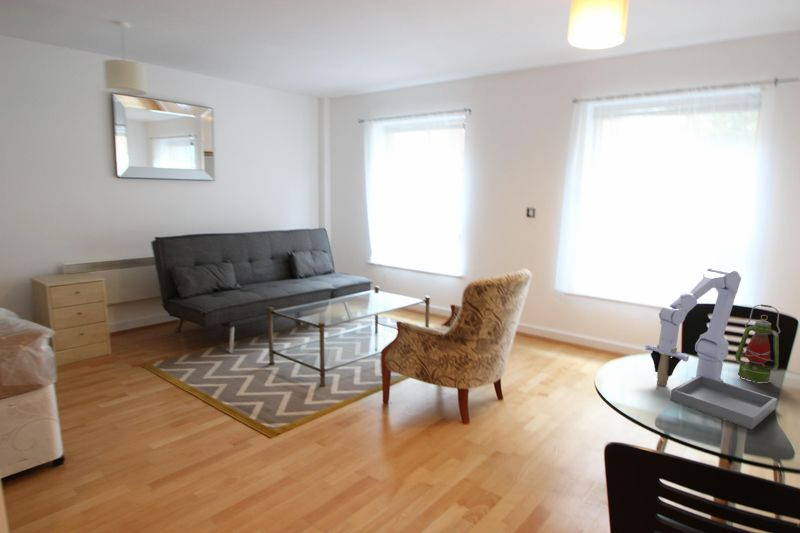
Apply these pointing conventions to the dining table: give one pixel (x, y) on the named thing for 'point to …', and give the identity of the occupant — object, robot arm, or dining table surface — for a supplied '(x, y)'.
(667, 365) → the handle
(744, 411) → the bin
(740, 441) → the dining table surface
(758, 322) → the lantern
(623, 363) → the dining table surface
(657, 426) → the dining table surface
